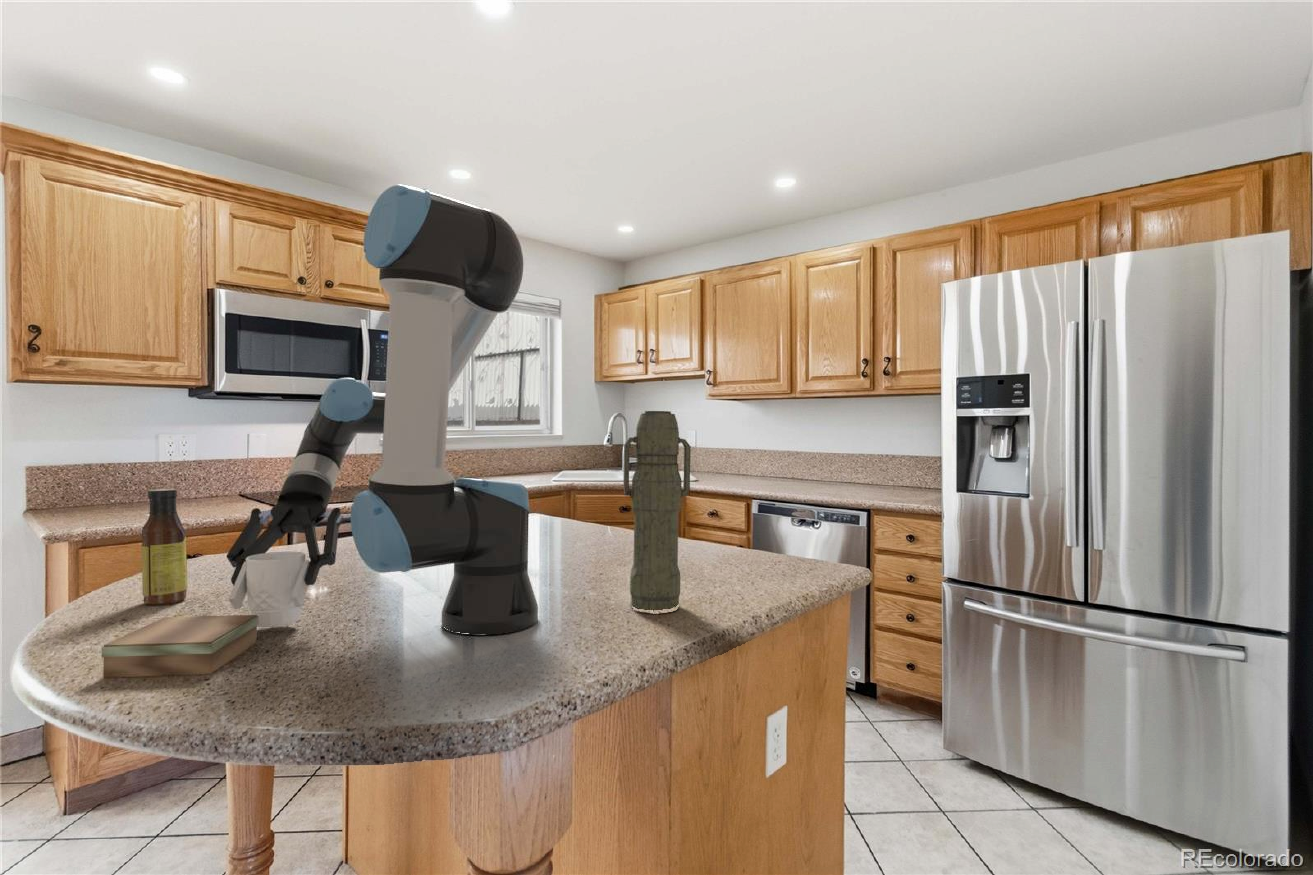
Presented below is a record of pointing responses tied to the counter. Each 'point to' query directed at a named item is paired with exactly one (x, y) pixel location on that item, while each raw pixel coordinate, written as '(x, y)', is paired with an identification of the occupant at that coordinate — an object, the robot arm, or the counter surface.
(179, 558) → the sauce bottle
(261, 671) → the counter surface
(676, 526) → the thermos
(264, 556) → the white cup
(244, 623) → the walnut block
